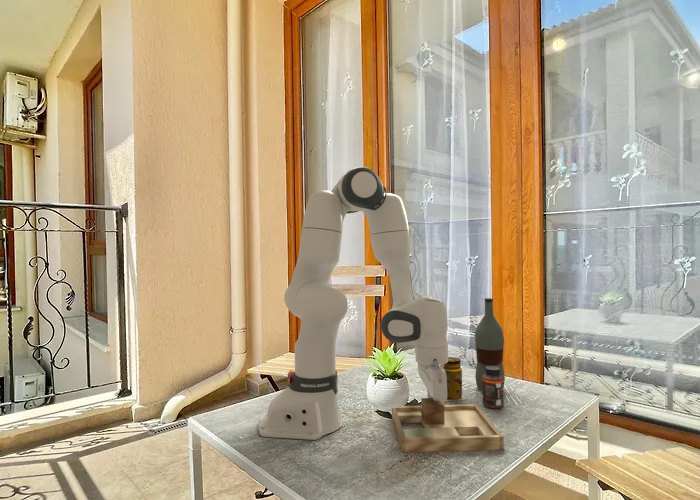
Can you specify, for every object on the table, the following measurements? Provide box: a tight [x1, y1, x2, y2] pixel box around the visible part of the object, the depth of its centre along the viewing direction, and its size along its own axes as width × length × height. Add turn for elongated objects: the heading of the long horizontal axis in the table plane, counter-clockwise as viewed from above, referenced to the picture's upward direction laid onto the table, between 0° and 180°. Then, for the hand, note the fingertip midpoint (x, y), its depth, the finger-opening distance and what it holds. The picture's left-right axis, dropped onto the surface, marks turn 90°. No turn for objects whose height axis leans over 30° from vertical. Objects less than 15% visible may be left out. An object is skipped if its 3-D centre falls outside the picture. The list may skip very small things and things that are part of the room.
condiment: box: [442, 356, 468, 403], centre depth 133 cm, size 7×8×12 cm
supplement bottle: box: [482, 366, 505, 410], centre depth 125 cm, size 6×6×11 cm
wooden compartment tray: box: [391, 403, 505, 453], centre depth 108 cm, size 24×20×3 cm
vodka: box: [474, 297, 506, 392], centre depth 139 cm, size 9×9×30 cm
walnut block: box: [420, 397, 445, 425], centre depth 110 cm, size 5×5×5 cm
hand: (432, 404), depth 116 cm, fingers closed
